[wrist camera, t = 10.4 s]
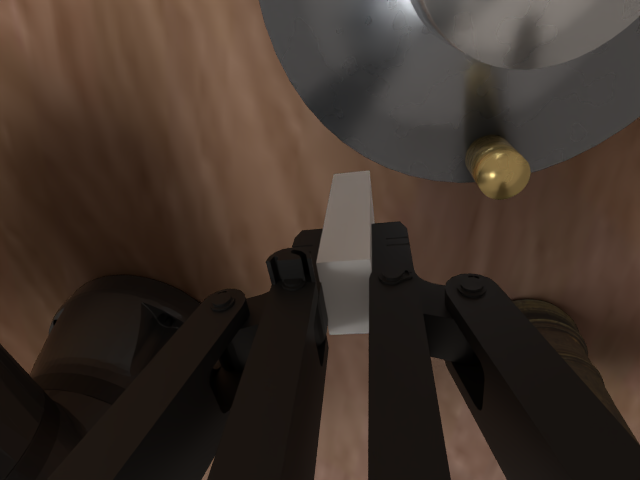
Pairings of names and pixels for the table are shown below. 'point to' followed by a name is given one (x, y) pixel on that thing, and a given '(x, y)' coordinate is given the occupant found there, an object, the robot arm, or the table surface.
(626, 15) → the cover
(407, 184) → the table surface
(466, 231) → the table surface
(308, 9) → the turntable
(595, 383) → the container
